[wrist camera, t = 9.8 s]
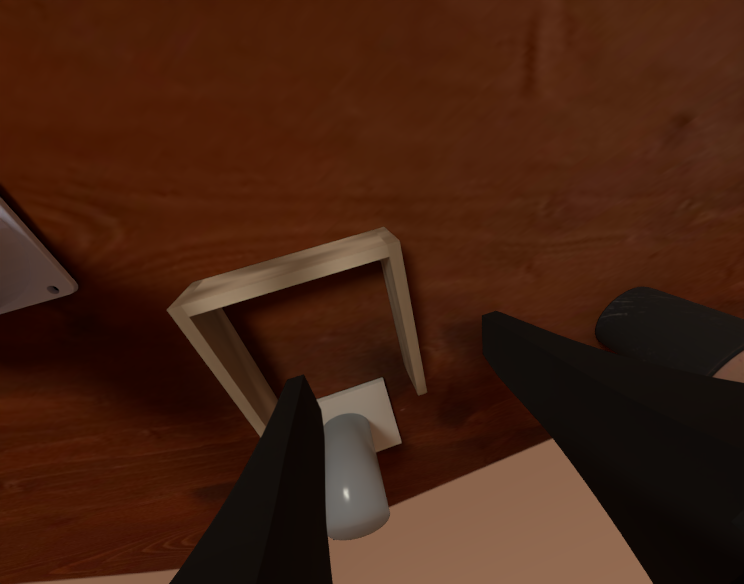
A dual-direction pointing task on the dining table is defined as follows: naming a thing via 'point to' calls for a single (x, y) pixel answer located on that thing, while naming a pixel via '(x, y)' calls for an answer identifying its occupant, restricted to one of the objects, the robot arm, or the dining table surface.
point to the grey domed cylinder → (352, 479)
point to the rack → (206, 297)
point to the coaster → (365, 410)
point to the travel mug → (674, 333)
